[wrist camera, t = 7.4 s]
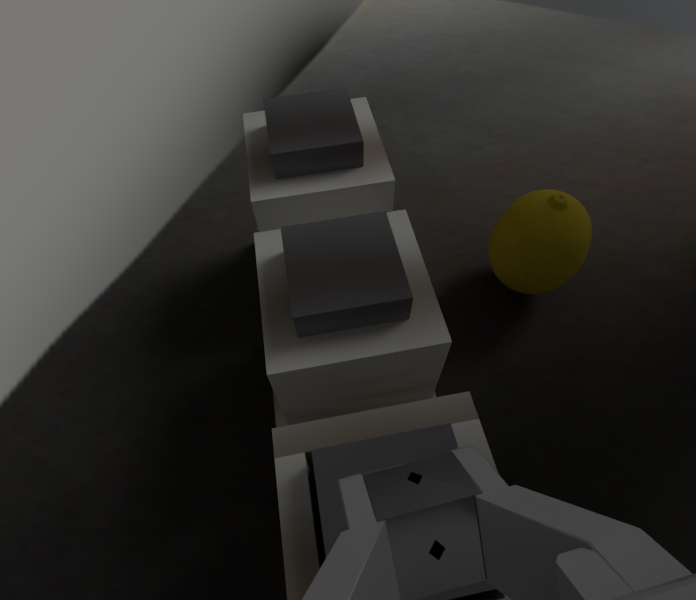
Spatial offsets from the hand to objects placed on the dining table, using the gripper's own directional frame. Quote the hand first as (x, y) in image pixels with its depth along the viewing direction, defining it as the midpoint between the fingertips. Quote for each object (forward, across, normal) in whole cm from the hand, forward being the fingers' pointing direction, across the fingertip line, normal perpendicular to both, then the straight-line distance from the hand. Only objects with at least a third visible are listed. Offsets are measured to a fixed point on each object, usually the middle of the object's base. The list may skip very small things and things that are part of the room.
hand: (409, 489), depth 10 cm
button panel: (+17, 0, +4) cm, 18 cm away
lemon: (+20, -14, +2) cm, 25 cm away
